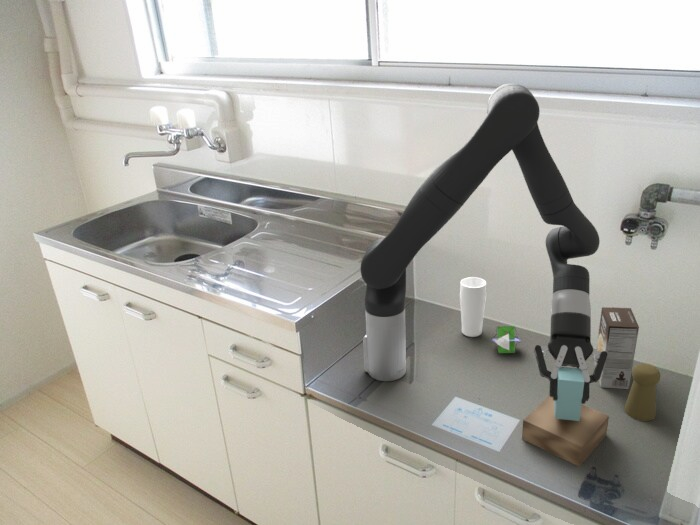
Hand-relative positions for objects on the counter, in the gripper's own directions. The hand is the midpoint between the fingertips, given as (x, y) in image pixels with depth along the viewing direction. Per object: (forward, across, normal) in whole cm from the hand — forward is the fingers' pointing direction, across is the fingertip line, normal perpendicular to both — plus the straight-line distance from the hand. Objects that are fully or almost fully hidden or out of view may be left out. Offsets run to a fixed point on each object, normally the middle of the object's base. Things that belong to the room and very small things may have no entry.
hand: (569, 401), depth 114 cm
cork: (-2, +16, +16) cm, 23 cm away
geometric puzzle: (-16, -12, +30) cm, 36 cm away
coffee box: (-11, +12, +25) cm, 30 cm away
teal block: (+2, 0, +4) cm, 5 cm away
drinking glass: (-21, -21, +36) cm, 47 cm away
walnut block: (+6, 0, +9) cm, 10 cm away
